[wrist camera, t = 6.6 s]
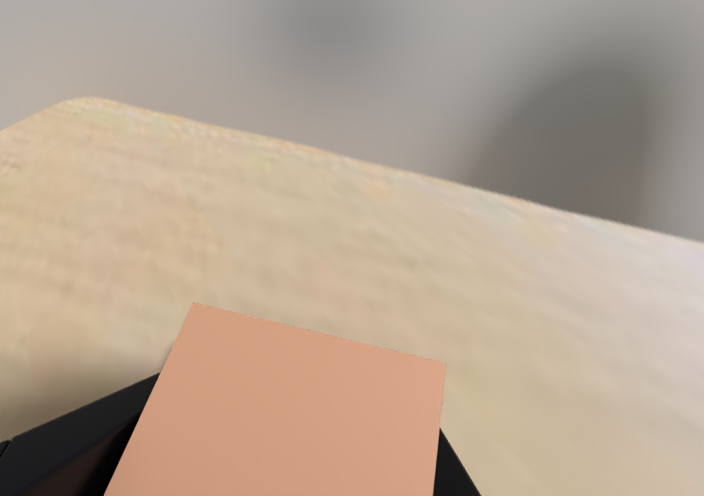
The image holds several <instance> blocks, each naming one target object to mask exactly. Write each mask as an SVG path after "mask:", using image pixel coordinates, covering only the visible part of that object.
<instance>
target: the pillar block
mask: <svg viewBox="0 0 704 496" xmlns="http://www.w3.org/2000/svg"><path fill="white" fill-rule="evenodd" d="M445 370H446V363H442V362H438V361H434V360H430V359H426V358H422V357H417V356H413V355H409V354H405V353H401V352H397V351H393V350H388V349H384V348H380V347H376V346H372V345H368V344H364V343H359V342H355V341H351V340H347V339H343V338H339V337H334V336H330V335H326V334H322V333H318V332H314V331H310V330H305V329H301V328H297V327H293V326H289V325H285V324H280V323H276V322H272V321H268V320H264V319H260V318H256V317H251V316H247V315H243V314H239V313H235V312H231V311H226V310H222V309H218V308H214V307H210V306H206V305H202V304H197V303H193V304H192V306H191V308H190V310H189V313H188V315H187V317H186V319H185V321H184V323H183V326H182V328H181V330H180V332H179V334H178V336H177V338H176V341H175V343H174V345H173V347H172V349H171V351H170V354H169V356H168V358H167V360H166V362H165V364H164V367H163V369H162V371H161V373H160V375H159V377H158V380H157V382H156V384H155V386H154V388H153V390H152V392H151V395H150V397H149V399H148V401H147V403H146V405H145V408H144V410H143V412H142V414H141V416H140V418H139V421H138V423H137V425H136V427H135V429H134V431H133V434H132V436H131V438H130V440H129V442H128V444H127V446H126V449H125V451H124V453H123V455H122V457H121V459H120V462H119V464H118V466H117V468H116V470H115V472H114V475H113V477H112V479H111V481H110V483H109V485H108V488H107V490H106V492H105V494H104V496H433V488H434V479H435V469H436V459H437V449H438V439H439V429H440V419H441V410H442V400H443V390H444V380H445Z"/></svg>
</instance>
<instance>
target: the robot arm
mask: <svg viewBox="0 0 704 496" xmlns="http://www.w3.org/2000/svg"><path fill="white" fill-rule="evenodd" d="M160 373H161V372H160ZM160 373H158V374H155V375H153V376H151V377H149V378H146V379H144V380H142V381H140V382H137V383H135V384H133V385H130V386H128V387H126V388H124V389H121V390H119V391H117V392H115V393H112V394H110V395H108V396H106V397H103V398H101V399H99V400H96V401H94V402H92V403H90V404H87V405H85V406H83V407H81V408H78V409H76V410H74V411H71V412H69V413H67V414H65V415H62V416H60V417H58V418H56V419H53V420H51V421H49V422H47V423H44V424H42V425H40V426H37V427H35V428H33V429H31V430H28V431H26V432H24V433H22V434H19V435H17V436H15V437H13V438H12V440H5V441H3V442H1V443H0V496H104V494H105V492H106V490H107V488H108V485H109V483H110V481H111V479H112V477H113V475H114V472H115V470H116V468H117V466H118V464H119V462H120V459H121V457H122V455H123V453H124V451H125V449H126V446H127V444H128V442H129V440H130V438H131V436H132V434H133V431H134V429H135V427H136V425H137V423H138V421H139V418H140V416H141V414H142V412H143V410H144V408H145V405H146V403H147V401H148V399H149V397H150V395H151V392H152V390H153V388H154V386H155V384H156V382H157V380H158V377H159V375H160ZM433 496H481V495H480V493H479V491H478V490H477V488H476V486H475V485H474V483H473V481H472V480H471V478H470V476H469V475H468V473H467V471H466V470H465V468H464V466H463V465H462V463H461V461H460V460H459V458H458V456H457V455H456V453H455V451H454V450H453V448H452V447H451V445H450V443H449V442H448V440H447V438H446V437H445V435H444V433H443V432H442V430H441V428H440V429H439V439H438V449H437V459H436V469H435V479H434V488H433Z"/></svg>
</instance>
